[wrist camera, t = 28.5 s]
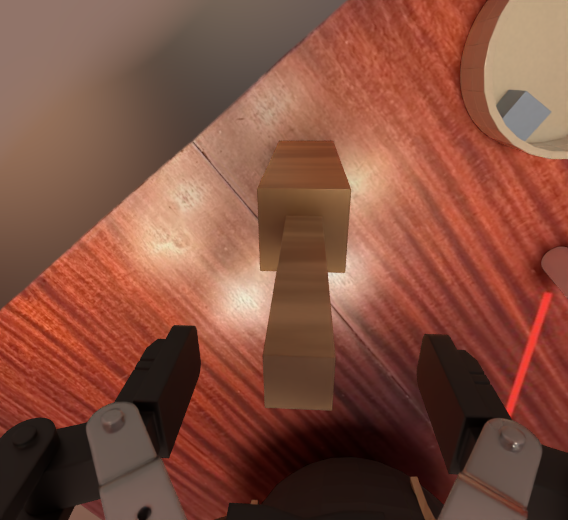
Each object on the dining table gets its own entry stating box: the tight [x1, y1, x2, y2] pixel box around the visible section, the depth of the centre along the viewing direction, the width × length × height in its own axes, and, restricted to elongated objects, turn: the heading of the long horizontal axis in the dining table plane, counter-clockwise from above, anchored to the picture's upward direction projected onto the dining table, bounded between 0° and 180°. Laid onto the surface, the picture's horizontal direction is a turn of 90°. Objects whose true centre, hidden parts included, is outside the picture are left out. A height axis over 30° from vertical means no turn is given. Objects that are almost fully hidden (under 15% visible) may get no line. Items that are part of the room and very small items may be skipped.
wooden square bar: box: [263, 216, 336, 410], centre depth 19 cm, size 2×2×14 cm
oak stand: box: [257, 141, 351, 273], centre depth 35 cm, size 6×6×20 cm
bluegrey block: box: [496, 90, 551, 141], centre depth 38 cm, size 3×3×3 cm
